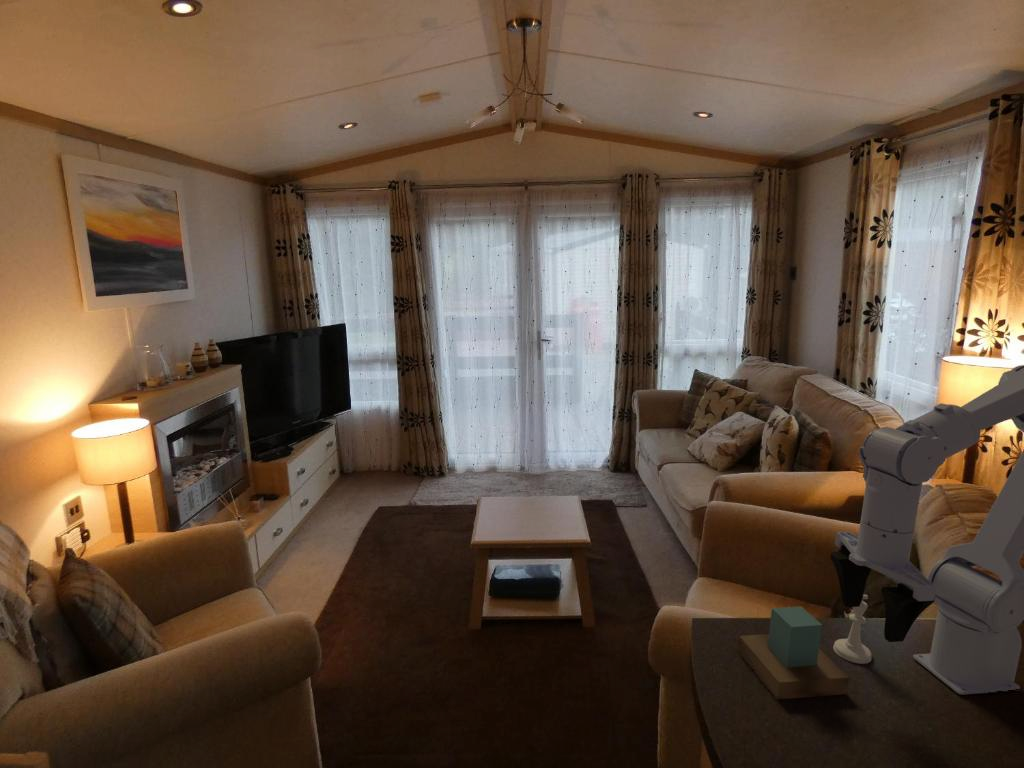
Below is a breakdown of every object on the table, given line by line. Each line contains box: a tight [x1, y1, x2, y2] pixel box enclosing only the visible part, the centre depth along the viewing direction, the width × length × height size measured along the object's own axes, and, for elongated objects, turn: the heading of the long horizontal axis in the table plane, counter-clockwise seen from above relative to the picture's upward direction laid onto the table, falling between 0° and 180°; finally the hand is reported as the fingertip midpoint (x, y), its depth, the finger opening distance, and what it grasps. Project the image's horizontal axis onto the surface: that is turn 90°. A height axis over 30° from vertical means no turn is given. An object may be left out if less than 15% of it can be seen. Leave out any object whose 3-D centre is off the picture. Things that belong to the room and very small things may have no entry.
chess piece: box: [833, 593, 872, 665], centre depth 86 cm, size 5×5×10 cm
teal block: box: [767, 605, 823, 668], centre depth 81 cm, size 4×4×6 cm
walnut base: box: [737, 633, 850, 700], centre depth 82 cm, size 10×10×2 cm
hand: (871, 622), depth 77 cm, fingers open, 7 cm apart
